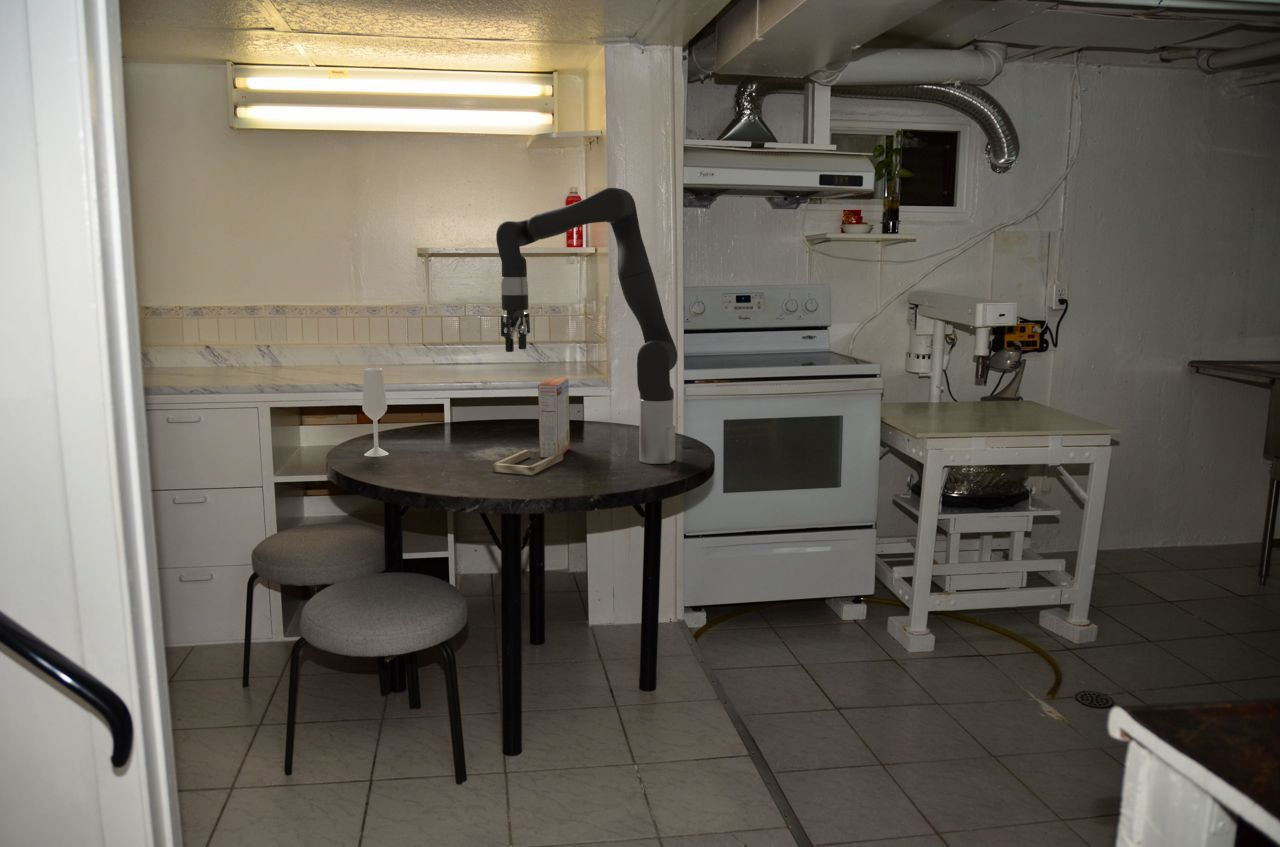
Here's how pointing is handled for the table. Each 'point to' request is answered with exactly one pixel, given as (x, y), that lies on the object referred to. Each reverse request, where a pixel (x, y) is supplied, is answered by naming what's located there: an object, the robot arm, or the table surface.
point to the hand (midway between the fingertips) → (516, 350)
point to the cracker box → (553, 416)
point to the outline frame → (508, 466)
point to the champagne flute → (374, 404)
